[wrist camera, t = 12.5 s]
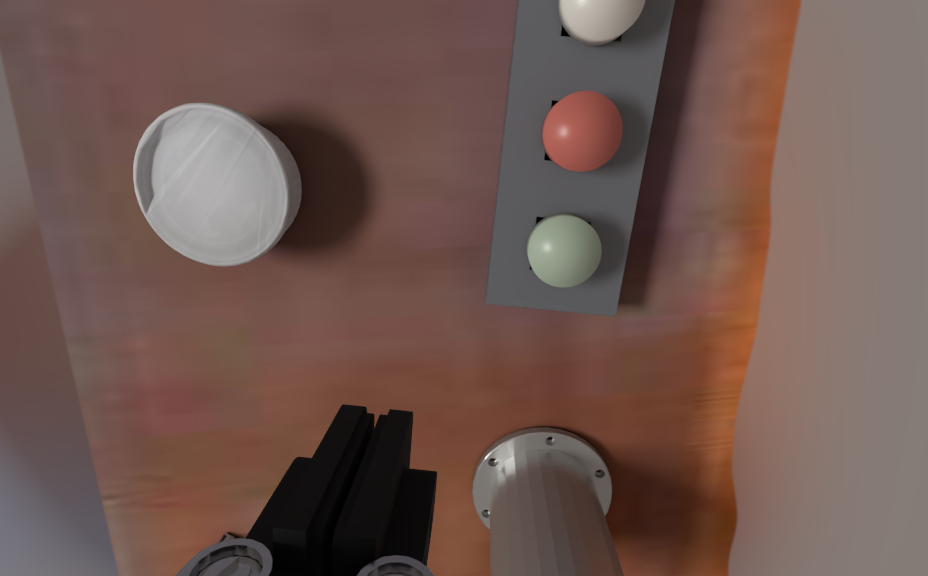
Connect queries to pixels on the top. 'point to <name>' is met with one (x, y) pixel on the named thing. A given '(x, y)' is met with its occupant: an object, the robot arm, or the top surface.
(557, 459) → the robot arm
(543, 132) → the button red
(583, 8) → the button cream
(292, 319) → the top surface
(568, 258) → the button sage
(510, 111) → the button panel
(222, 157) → the ramekin
